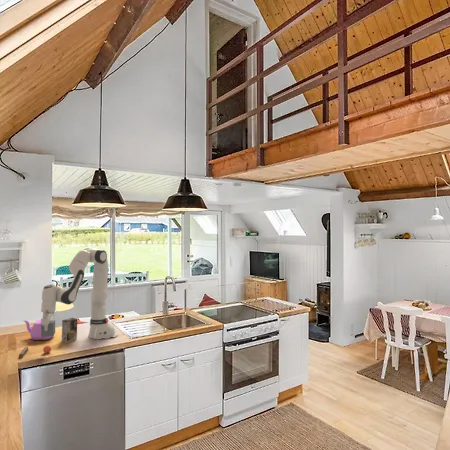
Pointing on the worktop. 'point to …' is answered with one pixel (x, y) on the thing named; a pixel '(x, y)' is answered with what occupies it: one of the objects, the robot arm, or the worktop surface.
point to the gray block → (50, 329)
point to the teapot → (36, 330)
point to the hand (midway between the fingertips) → (47, 328)
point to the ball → (47, 349)
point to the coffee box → (69, 330)
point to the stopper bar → (23, 352)
